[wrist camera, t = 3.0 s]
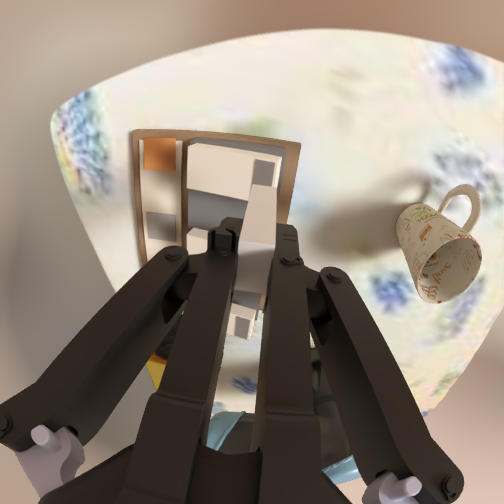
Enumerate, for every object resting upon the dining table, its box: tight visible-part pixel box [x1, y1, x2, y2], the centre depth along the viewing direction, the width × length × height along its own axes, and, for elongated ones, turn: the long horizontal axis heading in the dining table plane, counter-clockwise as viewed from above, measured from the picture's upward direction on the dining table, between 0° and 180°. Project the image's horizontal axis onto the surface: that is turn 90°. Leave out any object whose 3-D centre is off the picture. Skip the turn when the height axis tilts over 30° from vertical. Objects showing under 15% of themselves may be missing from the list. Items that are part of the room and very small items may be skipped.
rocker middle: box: [187, 228, 208, 255], centre depth 29 cm, size 4×8×2 cm, turn 83°
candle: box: [146, 315, 224, 390], centre depth 41 cm, size 10×10×10 cm
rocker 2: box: [226, 303, 256, 340], centre depth 34 cm, size 4×8×2 cm, turn 84°
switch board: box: [133, 129, 301, 320], centre depth 32 cm, size 23×18×4 cm
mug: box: [396, 184, 482, 303], centre depth 25 cm, size 8×13×10 cm, turn 159°
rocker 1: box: [187, 143, 282, 201], centre depth 24 cm, size 4×8×2 cm, turn 84°
